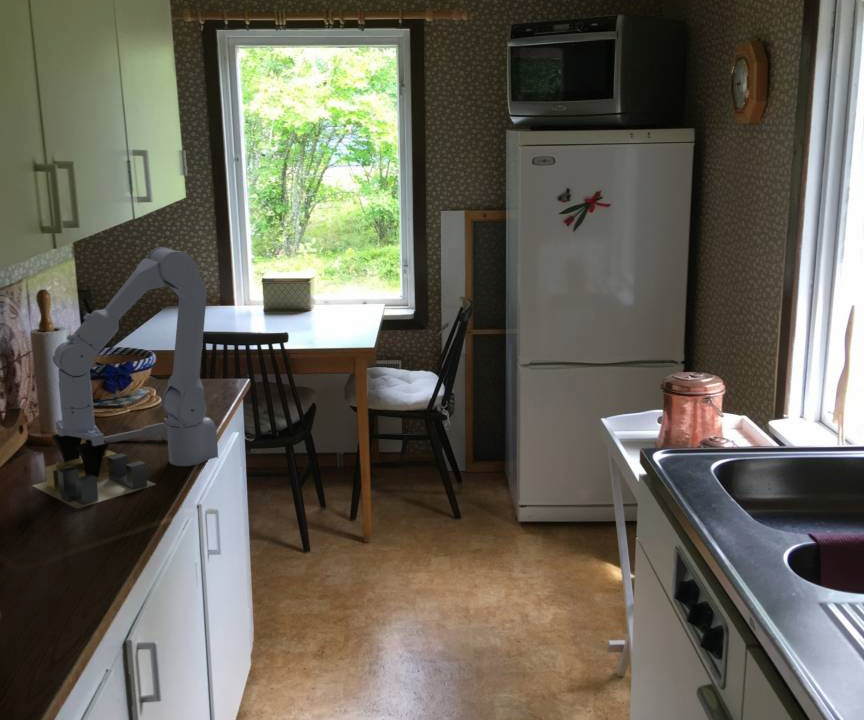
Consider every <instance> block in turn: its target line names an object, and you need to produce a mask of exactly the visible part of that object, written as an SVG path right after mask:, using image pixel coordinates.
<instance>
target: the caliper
mask: <svg viewBox="0 0 864 720" xmlns="http://www.w3.org/2000/svg"><path fill="white" fill-rule="evenodd" d="M163 421H164V422H158V423H155V424H151V425H150V424H149V425H145V426H143V427H142V428H140V429H135V430H131V431H126V432H120V433H116V434H110V435H107V436H104V440H105V441H107V442H108V443H117V442H121V441H122V442H123V441H127V440H130V439H136V438H142V437H145V439H146V440H148V439H151V438H156V437H157V436H159V435H160V436H161V437H162V439H163V440H164V441H168V435H167V418H166V417H164V418H163Z"/></svg>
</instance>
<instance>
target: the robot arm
mask: <svg viewBox="0 0 864 720" xmlns="http://www.w3.org/2000/svg"><path fill="white" fill-rule="evenodd" d="M166 285H167V286H168V287H169V288H170V289H171V290H172V291H173V292H174V293H175V294H176V295H177V297H178V308H177V309H178V310H177V320H176V332H175V343H174V344H175V345H174V354H173V355H174V356H173V367H172V368H173V369H172V374H171V375H170V377H169V378H168V381H167V387H166V390H165V391H164V393H163V395H162V397H161V407H162V408H163V410H164V411H165V413H167V415H168V416H167V418H166V419H167V435H168V440H167V444H168V445H167V447H168V448H167V449H168V461H169V463H170V464H171V465H172V466H177V467H191V466H195V465H199V464H201V463H203V462H206V461H209V460H212V459H215V458H218V459H219V451H218V448H219V447H218V430H217V427H216V424H215V422H214V420H212V419H211V417H208V416H206V415H207V412H208V411H207V410H208V407H207V406H208V405H207V403H206V401H205V397H204V392H205V389H204V386H203V383H202V379H201V378H200V377H201V376H200V374H201V366H202V365H201V364H202V363H201V362H202V352H203V344H204V343H203V341H204V331H205V329H204V328H205V318H206V307H207V296H208V291H207V287H206V284H205V283H204V280H203V278H202V277H201V274H200V272H199V270H198V264H197V262H196V261H195V260H193V259H192V257H190V256H189V255H188V254H187V253H185V252H183V251H179V250H174V249H170V248H168V247H166V246H164V247H163V246H159V247H155V248H154V249H153V250H151V251H150V252H149V254H148V255H147V257H144V259H142V260H141V261H140V262H139V263H138V265H137V267H136V268H135V270H133V272H132V274H130V276H129V277H128V279H126V281H125V282H124V283H123V285H122V286H120V287H121V288H119V289H118V291H117V292H116V293H115V295H114V296H113V297H112V299H110V301H109V302H108V303H107V305H106V306H105V307H104V308H102V309H95V310H93V311H92V312H91V313H90V312H89V313H88V312H86V313H85V315H84V316H83V317H82V319H83V320H84V321H83V322H82V324H80V325H79V327H78V328H77V329H76V330H75V331H74V333H73V334H68V335H67V337H66V340H67V341H65V342H61V343H60V344H59V345H58V346H57V347H56V349H55V351H54V354H53V356H52V361H53V363H54V365H55V366H56V367H57V368H58V369H57V371H58V380H59V381H58V389H59V402H60V412H61V419H59V420H56V421H55V430H56V433H55V434H53V435H52V436H51V438H52V441H54V443H55V444H56V446H57V447H58V449H59V452H60V455H61V457H62V459H63V460H62V461H63V462H67V461H71V460H74V459H78V458H82V461H83V465H84V470H85V474H86V476H87V475H93V476H95V477H99V472H100V467H101V462H102V458H103V455H104V453H105V451H106V450H107V449H108V447H109V442H107V441H105V440H104V437H105V436H104V433H101V431H100V430H99V427H98V426H97V425H96V423H95V412H94V409H95V408H94V401H93V389H92V388H93V387H92V380H91V372H90V370H92V369H93V368H94V365H95V356H97V355H98V354H99V353H100V352H101V351H102V349H103V348H104V347H105V346H106V345H107V344H108V343H109V342H110V341H111V340H112V339H113V337H114V336H115V335H116V334H117V332H118V331H119V329H120V326H119V321H120V320H121V318H122V317H123V316H124V315H125V314H126V313H127V312H128V311H129V310H130V309H131V308H132V307H133V306H134V305H135V304H136V302H138V300H140V298H142V296H143V295H144V294H145V293H146V292H147V291H149V290H154V289H159V288H163V287H166ZM82 440H84V441H85V442H83V443H82Z"/></svg>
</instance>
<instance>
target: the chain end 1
mask: <svg viewBox="0 0 864 720" xmlns="http://www.w3.org/2000/svg"><path fill="white" fill-rule="evenodd" d="M57 471H58V482H59V492H60V494H61V499H62V500H64V501H66V502H68V503H69V502H72V501H76V502H78V503H80V504H82V505H85V504H88V503H92V502H95V501H98V490H97V478H96V477H95V476H93V475H87V476H83V477H80V478H79V471H78V468H75V467H73V466H72V467H68V468H65V469H61V470H57Z"/></svg>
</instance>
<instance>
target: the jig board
mask: <svg viewBox="0 0 864 720" xmlns="http://www.w3.org/2000/svg"><path fill="white" fill-rule="evenodd" d="M156 485H157V483H155V482H152V481H149V480H147V486H144V487H141V488H138V489H134V490H132V489H130V488H128V487H126V486H123V485H121V484H119V483H117V482H114V481H112V480H110V479H109V476H106V477H103V478H99V479H97V490H98V501H95V502H92V503H88V504H85V505H82V504H80V503H78V502H76V501H72V502H69V503H68V502H66V501H64V500H62V499H61V494H60V492H59V490H57V491H54V490H52V489H50V488H48V487H47V481H44V482H39V483H37V484H33V485H31V487H34V488H36V489H37V490H39V491H42V492H43V493H45V494H47V495H49V496H51V497H53V498H54V499H57V500H59V501H60V502H63V503H64V504H66V505H68V506H71V507H72V508H75V509H76V510H78V509H81V508H85V507H88V506H91V505H95V504H97V503H98V504H99V503H100V502H103V501H107V500H111V499H113V498H117V497H118V498H119V497H120V496H124V495H126V494H131V493H134V492H137V491H140V490H143V489H146V488H150V487H153V486H156Z"/></svg>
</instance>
